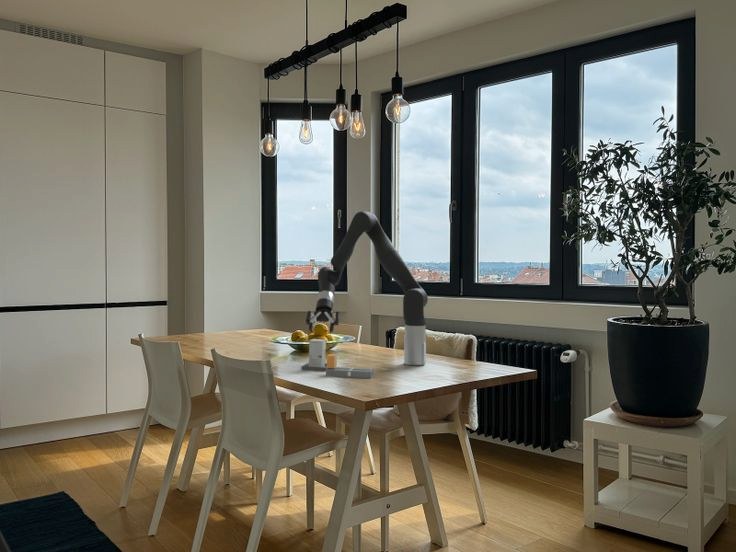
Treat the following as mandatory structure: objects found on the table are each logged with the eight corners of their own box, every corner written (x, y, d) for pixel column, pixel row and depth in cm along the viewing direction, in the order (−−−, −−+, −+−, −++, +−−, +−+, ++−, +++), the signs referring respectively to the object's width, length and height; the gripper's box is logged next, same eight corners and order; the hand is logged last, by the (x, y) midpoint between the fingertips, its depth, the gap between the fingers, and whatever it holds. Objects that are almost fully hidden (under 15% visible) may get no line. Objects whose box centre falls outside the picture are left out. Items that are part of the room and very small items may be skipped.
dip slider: (336, 366, 260) (336, 354, 260) (334, 368, 256) (334, 355, 256) (329, 366, 260) (329, 353, 260) (326, 368, 256) (326, 355, 256)
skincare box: (308, 369, 271) (308, 340, 270) (312, 367, 275) (312, 338, 274) (321, 370, 269) (322, 340, 268) (325, 368, 273) (326, 339, 273)
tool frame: (332, 367, 276) (332, 363, 276) (325, 371, 266) (325, 367, 265) (308, 365, 278) (308, 362, 278) (301, 370, 268) (301, 366, 268)
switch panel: (374, 375, 258) (374, 368, 258) (370, 378, 251) (370, 371, 251) (330, 372, 262) (330, 366, 262) (325, 376, 255) (325, 369, 255)
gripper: (308, 297, 290) (303, 325, 279) (340, 297, 289) (336, 326, 278) (310, 308, 296) (305, 336, 284) (341, 308, 294) (337, 337, 283)
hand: (320, 331), depth 281 cm, fingers open, 8 cm apart
